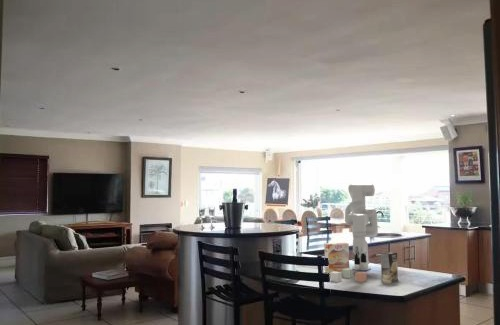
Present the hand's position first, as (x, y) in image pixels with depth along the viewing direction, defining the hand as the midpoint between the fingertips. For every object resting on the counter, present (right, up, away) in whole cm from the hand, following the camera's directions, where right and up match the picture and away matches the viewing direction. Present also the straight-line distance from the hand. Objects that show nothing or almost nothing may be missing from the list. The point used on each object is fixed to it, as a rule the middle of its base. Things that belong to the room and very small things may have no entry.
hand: (360, 263), depth 255 cm
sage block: (-5, -12, +13) cm, 18 cm away
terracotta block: (0, -11, -1) cm, 11 cm away
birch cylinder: (+13, -10, -8) cm, 18 cm away
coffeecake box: (-8, -13, +28) cm, 32 cm away
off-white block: (-14, -11, +2) cm, 18 cm away
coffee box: (+18, -11, +2) cm, 21 cm away
